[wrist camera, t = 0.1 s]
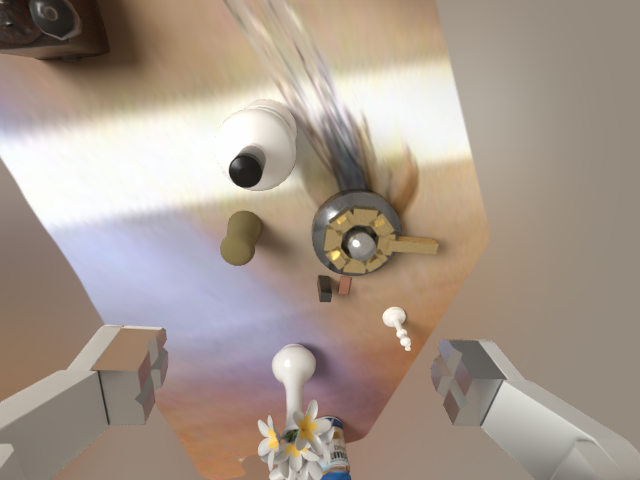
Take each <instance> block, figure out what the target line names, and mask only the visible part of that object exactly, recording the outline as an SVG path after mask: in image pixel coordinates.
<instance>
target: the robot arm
mask: <svg viewBox="0 0 640 480" xmlns="http://www.w3.org/2000/svg"><path fill="white" fill-rule="evenodd" d="M166 340H167V338H166V330H165V329H164V328H159V327H143V326H127V325H126V326H122V325H104V326H102V327H101V328H100V329H99V330H98V331H97V332H96V334H95V335H94V336H93V337H92V339H91V340H90V341H89V342H88V344H87V345H86V346H85V347H84V349H83V350H82V351H81V352H80V354H79V355H78V356H77V357H76V359H75V360H74V361H73V362H72V364H71V365H70V366H69V367H68V369H67V370H59V371H57V372H56V373H53V374H52V375H50V376H48V377H46V378H44V379H43V380H41V381H39V382H37V383H35V384H33V385H31V386H29V387H28V388H26V389H24V390H22V391H20V392H18V393H17V394H15V395H13V396H11V397H9V398H7V399H6V400H4V401H2V402H0V480H50V479H52V477H54V476H55V475H56V474H57V473H58V472H59V471H61V469H63V467H65V466H66V465H67V464H68V463H69V462H71V461H72V460H73V459H74V458H75V457H76V456H77V455H78V454H80V453H81V452H82V451H83V450H84V449H85V448H86V447H87V446H89V445H90V444H91V443H92V442H93V441H94V440H95V439H96V438H98V437H99V436H100V435H101V434H102V433H103V432H104V431H105V430H107V428H108V426H109V425H145V424H146V421H147V419H148V417H149V414H150V412H151V410H152V408H153V405H154V403H155V395H154V392H156V391H157V390H158V389H160V388H161V387H162V384H163V382H164V380H165V376H166V372H167V368H168V352H167V351H166V350H165V349H164V348H163V346H164V344H165V342H166ZM438 351H439V353H440V355H439V356H438V357H437V358H435V359H434V361H433V364H432V367H431V378H432V382H433V385H434V387H435V389H436V391H437V393H439V394H440V395H441V396H442V397H444V398H445V400H444V403H443V406H444V408H445V410H446V412H447V414H448V416H449V418H450V420H451V422H452V424H453V425H455V426H482V427H481V428H482V429H483V430H484V431H485V432H486V433H487V434H488V435H489V436H490V437H491V438H492V439H493V440H494V441H495V442H496V443H497V444H498V445H500V446H501V447H502V448H503V449H504V450H505V451H506V452H507V453H508V454H509V455H510V456H511V457H512V458H513V459H514V460H515V461H516V462H517V463H518V464H519V465H520V466H521V467H523V468H524V469H525V470H526V471H527V472H528V473H529V474H530V475H531V476H532V477H533V478H534V479H535V480H640V453H639V452H638V451H637V450H636V449H635V448H634V447H633V446H632V445H631V444H630V443H629V442H628V441H627V440H626V439H624V438H622V437H621V436H619V435H617V434H616V433H614V432H613V431H611V430H609V429H608V428H606V427H604V426H603V425H601V424H600V423H598V422H596V421H595V420H593V419H592V418H590V417H588V416H587V415H585V414H583V413H582V412H580V411H579V410H577V409H575V408H574V407H572V406H570V405H569V404H567V403H566V402H564V401H562V400H561V399H559V398H557V397H556V396H554V395H553V394H551V393H549V392H548V391H546V390H544V389H543V388H541V387H540V386H538V385H536V384H535V383H533V382H531V381H525V379H524V378H523V377H522V376H521V375H520V373H519V372H518V371H517V370H516V369H515V368H514V366H513V365H512V364H511V363H510V361H509V360H508V359H507V358H506V356H505V355H504V354H503V353H502V351H500V349H499V348H498V347H497V346H496V344H495V343H494V342H492V341H490V340H462V339H443V340H442V341H441V342H440V344H439V346H438Z"/></svg>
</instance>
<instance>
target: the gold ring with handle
mask: <svg viewBox="0 0 640 480" xmlns="http://www.w3.org/2000/svg"><path fill="white" fill-rule="evenodd" d="M329 224H330V225H326V227H325V234H324V241H323V248H324V251H325V255H326V256H327V257H328V258H329V260H330V261H331V262H332V263H333V264H334V265H335V266H336V267H337V268H338V270H340V269H341V268H342V270H343V272H350V273H365V270H366V268H367V270H368V271H369V272H371V271H372V270H373V269H376V268H378V267H379V266H381V265H382V263H384V262H385V261H386V260H388V259H387V257H386V255H391V253H392V251H394V252H407V253H420V254H433V255H436V252H437V249H438V246H439V244H438V243H437V242H436V241H435V240H434V239H428V238H416V237H404V236H396V234H395V233H394V232H393V231H395V230H394V228H393V227H392V226H391V224H390V223H389V222H388V220H387V219H386V218H385V216H384V215H383V214H382V212H381V211H380V210H377V209H376V208H375V207H370V206H360V205H352V209H351V211H350V209H349V208H348V207H346V208H344V209H343V210H342V211H340V212H339V213H338V214H336V215H335V216H334V217H332V218H331V219H330V220H329ZM355 225H364V226H371V227H372V228H373V230H374V231H375V232H376V237H375V244H376V252H375V254H374V256H373V257H372V258H371V259H369V260H367V261H357V260H355V259H354V258H353V257H352V256H351V254H350V253H347V252H346V251H345V250H344V249H343V247H342V246H341V242H342V236H343V234H344V233H345V232H346V231H348V230H349V229H350V228H352V227H353V226H355Z"/></svg>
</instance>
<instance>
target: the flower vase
mask: <svg viewBox="0 0 640 480" xmlns="http://www.w3.org/2000/svg"><path fill="white" fill-rule="evenodd" d="M315 368H316V361H315V357H314V356H313V354H312V353H311V352H310V351H309V350H308V349H306V348H305V347H304V346H302V345H300V344H296V343H292V344H288V345H286V346H285V347H283V348H282V349H281V350H280V351H279V352H278V353H277V354H276V355H275V356H274V358H273V361H272V371H273V373H274V376H275V377H276V378H277V380H278V381H279V382H281V383H282V384H284V386H285V390H286V402H287V416H286V423H285V428H284V430H283V432H282V436H280V435H279V434H278V432H277V430H276V428H275V426H274V424H273V421H272V418H271V416H270V415H269V416H268V426H267V425H266V424H265V423H264V422H263V421H261V420H258V427H259V430H260V432H261V433H262V435H263V436H265V437H269V438H266V439H264V440H263V441H262V442H261V443H260V445H259V448H258V454H259V455H260V456H262V457H261V460H262V461H264V462H266V463H268V466H269V470H270V471H272V469H273V465H274V464H278V467H277V468H275V469H274V470H273V471H272V472H271V473H270V475H269V478H270V480H282V479H284V478H285V480H296V479H298V480H312V478H313V479H314V480H320V479H321V478H322V476H323V469H322V467H321V466H320V464H319V463H324V462H325V463H326V467H327V466H328V465H327V464H329V465H330V459H331V458H332V457H333V455H334V454H333V453H330V449H329V443H330V441H331V439H332V437H333V434H334V426H333V427H332V428H331V426H332V423H333V420H334V417H333V419H332V420H331V422H330V421H329V420H328V419H325V418H319V419H315V418H316V416H317V412H318V404H317V401H316V400H312V401H311V402H310V404H309V406H308V409H307V412H306V414H305V416H304V414H303V387H304V384H305V383H306V382H307V381H308V380H309V379H310V378H311V377H312V376H313V374H314V371H315ZM314 419H315V420H314ZM314 433H315V434H314ZM319 433H322V434H321V435H320V436H318V435H316V434H319ZM281 439H283V440H284V441H285V442H287V443H281V444H280V440H281ZM306 440H307V441H306ZM310 447H311V448H312V449H313V450H314V452H315V453H313V452H312V451H310V450H309V449H308V448H310ZM268 452H270V453H268ZM267 453H268V454H267ZM318 462H319V463H318ZM302 465H303V466H302ZM301 466H302V467H301ZM308 471H309V472H308ZM296 477H297V478H296Z"/></svg>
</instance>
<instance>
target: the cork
mask: <svg viewBox="0 0 640 480" xmlns="http://www.w3.org/2000/svg"><path fill="white" fill-rule="evenodd" d="M261 231H262V223H261V221H260V219H259V218H258V216H257V215H255V214H254V213H252V212H249V211H240V212H236V213H235V214H233V215H232V216H231V218H230V219H229V222H228V230H227V237H225V239H224V240H223V241H222V244H221V247H220V249H221V255H222V257H223V259H224V260H225V261H226V262H228V263H229V264H232V265H235V266H241V265H245V264H246V263H248V262H249V261H250V260H251V259H252V258H253V256H254V253H255V245H254V244H255V242H256V241H257V239H258V237H259V236H260V234H261Z"/></svg>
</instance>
